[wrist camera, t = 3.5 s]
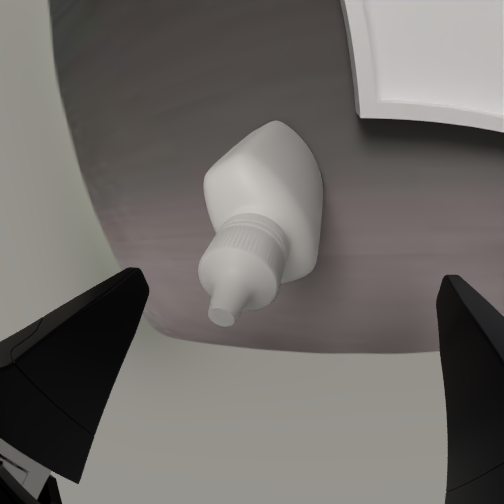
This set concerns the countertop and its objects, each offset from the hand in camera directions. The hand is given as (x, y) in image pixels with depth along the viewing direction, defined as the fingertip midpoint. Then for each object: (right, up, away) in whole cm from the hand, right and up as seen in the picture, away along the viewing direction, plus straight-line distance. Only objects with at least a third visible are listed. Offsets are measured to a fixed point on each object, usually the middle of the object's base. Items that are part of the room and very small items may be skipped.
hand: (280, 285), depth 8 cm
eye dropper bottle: (+1, +6, +9) cm, 11 cm away
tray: (+11, +14, 0) cm, 18 cm away
